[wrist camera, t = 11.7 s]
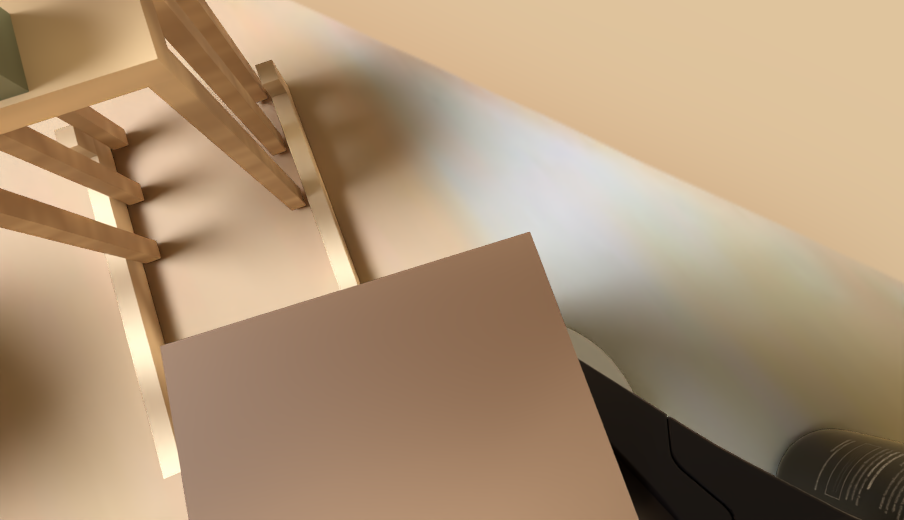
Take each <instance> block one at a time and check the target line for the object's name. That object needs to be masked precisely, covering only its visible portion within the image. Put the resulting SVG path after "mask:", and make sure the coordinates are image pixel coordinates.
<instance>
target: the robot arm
mask: <svg viewBox="0 0 904 520" xmlns="http://www.w3.org/2000/svg"><path fill="white" fill-rule="evenodd" d="M578 360H579V363H580V365H581V368H582V371H583V373H584V376H585V379H586V381H587V384H588V387H589V389H590V392H591V394H592V397H593V400H594V402H595V405H596V408H597V410H598V413H599V416H600V418H601V421H602V424H603V426H604V429H605V431H606V434H607V437H608V439H609V442H610V445H611V447H612V450H613V453H614V455H615V458H616V461H617V463H618V466H619V468H620V471H621V474H622V476H623V479H624V482H625V484H626V487H627V490H628V492H629V495H630V497H631V500H632V503H633V505H634V508H635V511H636V513H637V516H638V519H639V520H861V519H859V518H857V517H854V516H852V515H850V514H847V513H845V512H843V511H841V510H839V509H837V508H835V507H833V506H831V505H829V504H827V503H825V502H824V501H822V500H820V499H818V498H816V497H814V496H812V495H810V494H808V493H806V492H804V491H802V490H801V489H799V488H797V487H795V486H793V485H791V484H789V483H787V482H785V481H783V480H781V479H779V478H778V477H776V476H774V475H772V474H770V473H768V472H766V471H764V470H762V469H760V468H758V467H756V466H755V465H753V464H751V463H749V462H747V461H745V460H743V459H741V458H740V457H738V456H736V455H734V454H732V453H730V452H729V451H727V450H725V449H723V448H721V447H720V446H718V445H716V444H714V443H713V442H711V441H709V440H708V439H706V438H704V437H703V436H701V435H699V434H698V433H696V432H694V431H693V430H691V429H689V428H688V427H686V426H685V425H683V424H681V423H680V422H678V421H677V420H675V419H674V418H672V417H670V416H669V417H667V415H666V414H665V413H664V412H662V411H661V410H659V409H658V408H656V407H654V406H653V405H651V404H650V403H648V402H646V401H645V400H643V399H642V398H640V397H639V396H637V395H635V394H634V393H632V392H631V391H629V390H628V389H626V388H624V387H623V386H621V385H620V384H618V383H617V382H615V381H613V380H612V379H610V378H609V377H607V376H605V375H604V374H602V373H601V372H599V371H598V370H596V369H594V368H593V367H591V366H590V365H588V364H587V363H585V362H583V361H582V360H580V359H579V358H578Z"/></svg>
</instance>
